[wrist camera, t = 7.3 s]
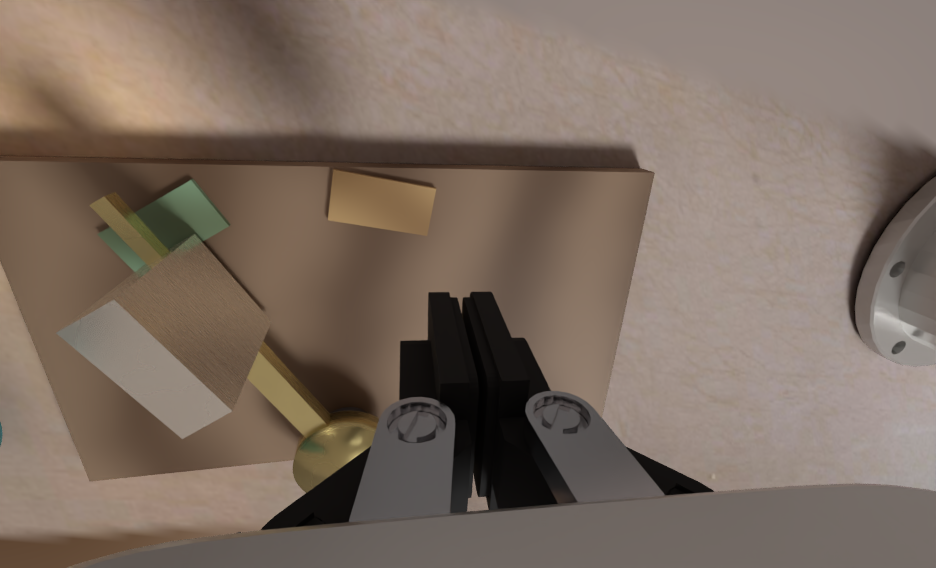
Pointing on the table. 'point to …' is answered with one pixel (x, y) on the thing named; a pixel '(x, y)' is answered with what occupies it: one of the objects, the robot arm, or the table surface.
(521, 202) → the cutting board
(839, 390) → the table surface
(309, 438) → the gold and silver piece
